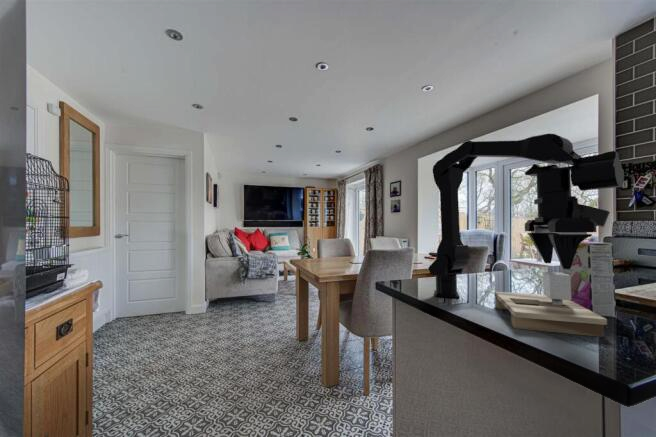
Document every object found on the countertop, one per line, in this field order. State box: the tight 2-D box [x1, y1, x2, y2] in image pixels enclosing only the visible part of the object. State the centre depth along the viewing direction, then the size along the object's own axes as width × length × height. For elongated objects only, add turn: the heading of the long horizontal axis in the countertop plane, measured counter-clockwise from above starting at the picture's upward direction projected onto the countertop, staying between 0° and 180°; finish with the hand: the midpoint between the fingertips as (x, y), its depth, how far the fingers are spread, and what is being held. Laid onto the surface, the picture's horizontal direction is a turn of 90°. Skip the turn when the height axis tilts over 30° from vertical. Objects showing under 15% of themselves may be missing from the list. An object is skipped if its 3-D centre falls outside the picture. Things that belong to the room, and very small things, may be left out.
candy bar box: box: [559, 240, 617, 318], centre depth 67 cm, size 11×5×16 cm, turn 168°
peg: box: [542, 271, 571, 306], centre depth 59 cm, size 4×4×10 cm
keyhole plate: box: [494, 291, 608, 338], centre depth 60 cm, size 18×14×4 cm
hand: (556, 265), depth 59 cm, fingers open, 9 cm apart
